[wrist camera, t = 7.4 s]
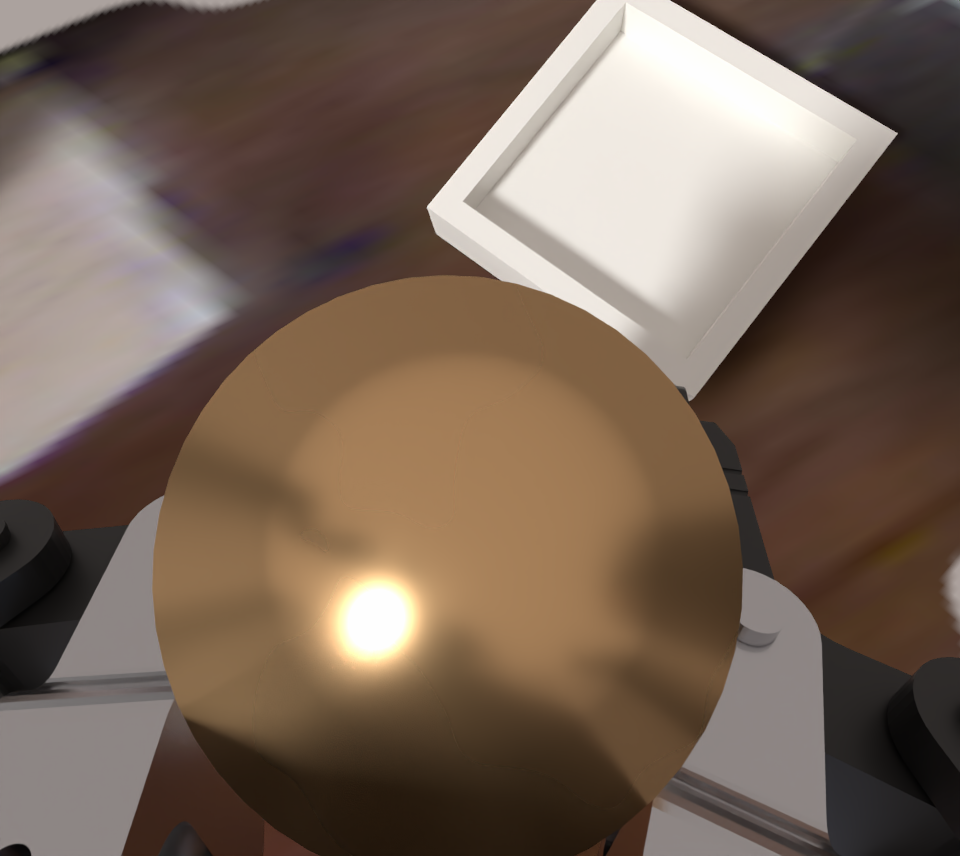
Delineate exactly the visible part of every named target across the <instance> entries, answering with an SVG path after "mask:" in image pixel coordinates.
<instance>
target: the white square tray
mask: <svg viewBox="0 0 960 856" xmlns="http://www.w3.org/2000/svg"><path fill="white" fill-rule="evenodd" d="M897 134H898V133H896V132H895V131H893V130H891V129H889V128H888V127H886V126H884V125H883V124H881V123H879V122H877V121H876V120H874V119H872V118H871V117H869V116H867V115H865V114H864V113H862V112H860V111H859V110H857V109H855V108H853V107H852V106H850V105H848V104H847V103H845V102H843V101H841V100H840V99H838V98H836V97H835V96H833V95H831V94H829V93H828V92H826V91H824V90H823V89H821V88H819V87H817V86H816V85H814V84H812V83H811V82H809V81H807V80H805V79H804V78H802V77H800V76H799V75H797V74H795V73H793V72H792V71H790V70H788V69H787V68H785V67H783V66H782V65H780V64H778V63H776V62H775V61H773V60H771V59H770V58H768V57H766V56H764V55H763V54H761V53H759V52H758V51H756V50H754V49H752V48H751V47H749V46H747V45H746V44H744V43H742V42H740V41H739V40H737V39H735V38H734V37H732V36H730V35H728V34H727V33H725V32H723V31H722V30H720V29H718V28H716V27H715V26H713V25H711V24H710V23H708V22H706V21H704V20H703V19H701V18H699V17H698V16H696V15H694V14H692V13H691V12H689V11H687V10H686V9H684V8H682V7H680V6H679V5H677V4H675V3H674V2H672V1H670V0H597V1H596V2H595V3H594V4H593V5H592V7H591V8H590V9H589V10H588V11H587V13H586V14H585V15H584V16H583V18H582V19H581V20H580V21H579V22H578V24H577V25H576V26H575V27H574V29H573V30H572V31H571V32H570V33H569V35H568V36H567V37H566V38H565V39H564V41H563V42H562V43H561V44H560V46H559V47H558V48H557V49H556V50H555V52H554V53H553V54H552V55H551V57H550V58H549V59H548V60H547V61H546V63H545V64H544V65H543V66H542V67H541V69H540V70H539V71H538V72H537V74H536V75H535V76H534V77H533V78H532V80H531V81H530V82H529V83H528V84H527V86H526V87H525V88H524V89H523V91H522V92H521V93H520V94H519V95H518V97H517V98H516V99H515V100H514V102H513V103H512V104H511V105H510V106H509V108H508V109H507V110H506V111H505V112H504V114H503V115H502V116H501V117H500V119H499V120H498V121H497V122H496V123H495V125H494V126H493V127H492V128H491V130H490V131H489V132H488V133H487V134H486V136H485V137H484V138H483V139H482V140H481V142H480V143H479V144H478V145H477V147H476V148H475V149H474V150H473V151H472V153H471V154H470V155H469V156H468V157H467V159H466V160H465V161H464V162H463V164H462V165H461V166H460V167H459V168H458V170H457V171H456V172H455V173H454V175H453V176H452V177H451V178H450V179H449V181H448V182H447V183H446V184H445V185H444V187H443V188H442V189H441V190H440V192H439V193H438V194H437V195H436V196H435V198H434V199H433V200H432V201H431V203H430V204H429V205H428V206H427V209H428V212H429V215H430V218H431V220H432V223H433V226H434V229H435V232H436V234H437V235H438V236H440V237H441V238H443V239H444V240H445V241H447V242H448V243H450V244H451V245H452V246H454V247H455V248H457V249H458V250H459V251H461V252H462V253H463V254H465V255H466V256H468V257H469V258H470V259H472V260H473V261H475V262H476V263H477V264H479V265H480V266H482V267H483V268H484V269H486V270H487V271H488V272H490V273H491V274H493V275H494V276H495V277H497V278H498V279H500V280H501V281H505V282H511V283H516V284H519V285H522V286H526V287H529V288H532V289H535V290H538V291H542V292H545V293H548V294H551V295H553V296H555V297H558V298H560V299H562V300H564V301H566V302H568V303H571V304H573V305H575V306H577V307H579V308H582V309H584V310H586V311H587V312H589V313H590V314H592V315H594V316H595V317H597V318H598V319H600V320H602V321H603V322H605V323H606V324H608V325H610V326H611V327H613V328H614V329H616V330H617V331H619V332H620V333H621V334H622V335H623V336H625V337H626V338H627V339H628V340H629V341H631V342H632V343H633V344H634V345H636V346H637V347H638V348H639V349H640V350H642V351H643V352H644V353H645V354H646V355H647V356H648V357H649V358H650V359H651V360H652V361H653V362H654V363H655V364H656V365H657V366H658V367H659V368H660V370H661V371H662V372H663V373H664V374H665V375H666V376H667V377H668V378H669V379H670V380H671V381H672V382H673V384H674V385H675V386H682V387H685V389H686V392H687V396H688V401H690V400H692V399H693V398H694V397H695V396H696V395H697V393H698V392H699V391H700V390H701V388H702V387H703V386H704V384H705V383H706V382H707V380H708V379H709V378H710V377H711V375H712V374H713V373H714V371H715V370H716V369H717V367H718V366H719V365H720V364H721V362H722V361H723V360H724V358H725V357H726V356H727V355H728V353H729V352H730V351H731V349H732V348H733V347H734V345H735V344H736V343H737V342H738V340H739V339H740V338H741V336H742V335H743V334H744V332H745V331H746V330H747V329H748V327H749V326H750V325H751V323H752V322H753V321H754V319H755V318H756V317H757V316H758V314H759V313H760V312H761V310H762V309H763V308H764V306H765V305H766V304H767V303H768V301H769V300H770V299H771V297H772V296H773V295H774V293H775V292H776V291H777V290H778V288H779V287H780V286H781V284H782V283H783V282H784V281H785V279H786V278H787V277H788V275H789V274H790V273H791V271H792V270H793V269H794V268H795V266H796V265H797V264H798V262H799V261H800V260H801V258H802V257H803V256H804V255H805V253H806V252H807V251H808V249H809V248H810V247H811V245H812V244H813V243H814V242H815V240H816V239H817V238H818V236H819V235H820V234H821V232H822V231H823V230H824V229H825V227H826V226H827V225H828V223H829V222H830V221H831V220H832V218H833V217H834V216H835V214H836V213H837V212H838V210H839V209H840V208H841V207H842V205H843V204H844V203H845V201H846V200H847V199H848V197H849V196H850V195H851V194H852V192H853V191H854V190H855V188H856V187H857V186H858V184H859V183H860V182H861V181H862V179H863V178H864V177H865V175H866V174H867V173H868V171H869V170H870V169H871V168H872V166H873V165H874V164H875V162H876V161H877V160H878V158H879V157H880V156H881V155H882V153H883V152H884V151H885V149H886V148H887V147H888V146H889V144H890V143H891V142H892V140H893V139H894V138H895V136H896V135H897Z"/></svg>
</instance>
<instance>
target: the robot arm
mask: <svg viewBox="0 0 960 856" xmlns="http://www.w3.org/2000/svg"><path fill="white" fill-rule="evenodd" d="M676 388H677V389H678V391H679V392H680V393H681V395H682V396H683V397H684V399H685V400H686V402H687V403H688V404H689V401H688V396H687V392H686V389H685V387H682V386H676ZM700 423H701V425H702V427H703V429H704V431H705V433H706V434H707V436H708V438H709V440H710V442H711V444H712V445H713V447H714V449H715V452H716V454H717V457H718V460H719V462H720V465H721V467H722V470H723V473H724V475H725V478H726V480H727V483H728V486H729V489H730V493H731V497H732V501H733V506H734V510H735V514H736V518H737V522H738V526H739V535H740V545H741V554H742V564H743V585H742V612H741V618H740V624H739V630H738V637H737V643H736V649H735V653H734V657H733V660H732V663H731V667H730V670H729V673H728V676H727V680H726V683H725V686H724V690H723V692H722V695H721V697H720V699H719V701H718V703H717V706H716V708H715V710H714V712H713V714H712V716H711V719H710V721H709V723H708V725H707V727H706V730H705V731H704V733H703V734H702V736H701V738H700V739H699V741H698V742H697V744H696V745H695V747H694V749H693V750H692V752H691V753H690V755H689V756H688V758H687V759H686V761H685V763H684V764H683V766H682V767H681V768H680V769H679V771H678V772H677V773H676V774H675V775H674V776H673V778H672V779H671V780H670V781H669V782H668V783H667V785H666V786H665V787H664V788H663V789H662V790H661V792H660V793H659V794H658V795H657V796H656V797H655V799H653V800H652V801H651V802H650V803H649V804H648V805H647V806H645V807H644V808H643V809H642V810H641V811H640V812H639V813H637V814H636V815H635V816H634V817H633V818H632V819H631V820H630V821H628V822H627V823H626V824H625V825H624V826H623V827H621V828H620V829H618V830H617V831H615V832H614V833H612V834H610V835H609V836H607V837H606V838H604V839H603V840H601V843H600V847H599V851H598V855H597V856H960V658H953V657H946V658H937V659H934V660H930V661H929V662H927V663H925V664H923V665H922V666H921V667H920V668H919V669H918V670H917V671H916V673H915V674H914V675H913V676H911V675H908V674H906V673H904V672H902V671H899V670H897V669H895V668H892V667H890V666H888V665H885V664H883V663H881V662H878V661H876V660H874V659H871V658H869V657H867V656H864V655H862V654H860V653H857V652H855V651H853V650H850V649H848V648H846V647H844V646H842V645H840V644H838V643H836V642H834V641H832V640H830V639H829V638H827V637H825V636H824V635H822V634H820V632H819V629H818V626H817V624H816V622H815V620H814V618H813V616H812V615H811V613H810V612H809V610H808V609H807V608H806V606H805V605H804V604H803V603H802V602H801V601H800V600H799V599H798V598H797V597H796V596H795V595H794V594H793V593H792V592H791V591H789V590H788V589H787V588H786V587H784V586H783V585H781V584H780V583H778V582H777V581H775V580H774V577H773V574H772V571H771V567H770V564H769V560H768V557H767V554H766V550H765V547H764V543H763V540H762V537H761V533H760V530H759V526H758V523H757V520H756V516H755V513H754V509H753V506H752V503H751V499H750V497H748V496H747V494H748V489H747V485H746V482H745V479H744V475H741V473H742V468H741V465H740V462H739V458H738V455H737V451H736V448H735V445H734V444H733V443H732V442H731V441H730V440H729V438H728V437H727V436H726V435H725V434H724V433H723V432H722V430H721V429H720V428H719V427H718V426H717V425H716V424H715V423H713V422H706V421H700ZM163 499H164V496H162V497H160V498H158V499H156V500H155V501H153V502H152V503H150V504H149V505H147V506H146V507H145V508H144V509H143V510H141V511H140V512H139V513H138V514H137V515H136V517H135V518H134V519H133V520H132V521H131V523H130V525H125V526H115V527H105V528H94V529H84V530H73V531H63V532H62V530H61V529H60V527H59V525H58V523H57V522H56V520H55V518H54V517H53V515H52V513H51V512H50V510H49V509H48V508H46V507H45V506H44V505H42V504H39V503H37V502H33V501H29V500H5V501H0V856H263V848H264V819H263V818H262V817H261V816H260V815H259V814H257V813H256V812H255V811H254V810H253V809H252V808H250V807H249V806H248V805H247V804H246V803H245V802H243V800H242V799H241V798H240V797H239V796H238V795H237V794H236V793H235V791H234V790H233V789H232V788H231V787H230V786H229V785H228V784H227V782H226V781H225V780H224V779H223V778H222V777H221V776H220V774H219V773H218V772H217V771H216V769H215V768H214V767H213V765H212V764H211V762H210V761H209V759H208V758H207V756H206V755H205V753H204V752H203V750H202V749H201V747H200V746H199V744H198V743H197V741H196V740H195V738H194V736H193V734H192V732H191V730H190V728H189V726H188V724H187V722H186V720H185V718H184V716H183V714H182V712H181V710H180V708H179V706H178V704H177V702H176V699H175V696H174V694H173V691H172V688H171V685H170V682H169V679H168V676H167V674H166V671H165V668H164V664H163V660H162V655H161V650H160V646H159V641H158V637H157V632H156V626H155V615H154V604H153V593H152V581H153V551H154V545H155V538H156V532H157V525H158V519H159V513H160V509H161V506H162V502H163Z"/></svg>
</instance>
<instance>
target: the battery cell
mask: <svg viewBox="0 0 960 856" xmlns="http://www.w3.org/2000/svg"><path fill="white" fill-rule="evenodd" d="M742 585H743V564H742V554H741V545H740V535H739V526H738V522H737V518H736V514H735V510H734V506H733V501H732V497H731V493H730V489H729V486H728V483H727V480H726V478H725V475H724V473H723V470H722V467H721V465H720V462H719V460H718V457H717V454H716V452H715V449H714V447H713V445H712V444H711V442H710V440H709V438H708V436H707V434H706V433H705V431H704V429H703V427H702V425H701V423H700V421H699V420H698V418H697V416H696V414H695V413H694V411H693V410H692V409H691V407H690V406H689V404H688V403H687V402H686V400H685V399H684V397H683V396H682V395H681V393H680V392H679V391H678V389H677V388H676V386H675V385H674V384H673V382H672V381H671V380H670V379H669V378H668V377H667V376H666V375H665V374H664V373H663V372H662V371H661V370H660V368H659V367H658V366H657V365H656V364H655V363H654V362H653V361H652V360H651V359H650V358H649V357H648V356H647V355H646V354H645V353H644V352H643V351H642V350H640V349H639V348H638V347H637V346H636V345H634V344H633V343H632V342H631V341H629V340H628V339H627V338H626V337H625V336H623V335H622V334H621V333H620V332H619V331H617V330H616V329H614V328H613V327H611V326H610V325H608V324H606V323H605V322H603V321H602V320H600V319H598V318H597V317H595V316H594V315H592V314H590V313H589V312H587V311H586V310H584V309H582V308H579V307H577V306H575V305H573V304H571V303H568V302H566V301H564V300H562V299H560V298H558V297H555V296H553V295H551V294H548V293H545V292H542V291H538V290H535V289H532V288H529V287H526V286H522V285H519V284H516V283H511V282H505V281H499V280H494V279H488V278H483V277H469V276H449V275H441V276H428V277H415V278H406V279H401V280H396V281H391V282H386V283H381V284H376V285H372V286H369V287H366V288H363V289H360V290H357V291H354V292H351V293H348V294H345V295H342V296H340V297H337V298H335V299H333V300H331V301H329V302H327V303H325V304H323V305H321V306H319V307H317V308H315V309H312V310H310V311H308V312H306V313H305V314H303V315H302V316H300V317H299V318H297V319H296V320H294V321H292V322H291V323H289V324H288V325H286V326H285V327H283V328H282V329H280V330H278V331H277V332H276V333H274V334H273V335H272V336H271V337H270V338H268V339H267V340H266V341H265V342H264V343H262V344H261V345H260V346H259V347H258V348H256V349H255V350H254V351H253V352H252V353H250V354H249V355H248V356H247V357H246V358H245V359H244V360H243V362H242V363H241V364H240V365H239V366H238V367H237V368H236V369H235V370H234V371H233V372H232V373H231V374H230V375H229V376H228V377H227V378H226V380H225V381H224V382H223V383H222V384H221V386H220V387H219V389H218V390H217V391H216V393H215V394H214V395H213V397H212V398H211V399H210V401H209V402H208V403H207V405H206V406H205V408H204V409H203V410H202V412H201V414H200V415H199V417H198V419H197V421H196V422H195V424H194V426H193V428H192V430H191V431H190V433H189V435H188V437H187V438H186V440H185V442H184V444H183V446H182V449H181V451H180V454H179V456H178V458H177V461H176V463H175V466H174V468H173V470H172V473H171V475H170V478H169V481H168V485H167V488H166V492H165V495H164V499H163V502H162V506H161V509H160V513H159V519H158V525H157V532H156V538H155V545H154V551H153V581H152V593H153V604H154V615H155V626H156V632H157V637H158V641H159V646H160V650H161V655H162V660H163V664H164V668H165V671H166V674H167V676H168V679H169V682H170V685H171V688H172V691H173V694H174V696H175V699H176V702H177V704H178V706H179V708H180V710H181V712H182V714H183V716H184V718H185V720H186V722H187V724H188V726H189V728H190V730H191V732H192V734H193V736H194V738H195V740H196V741H197V743H198V744H199V746H200V747H201V749H202V750H203V752H204V753H205V755H206V756H207V758H208V759H209V761H210V762H211V764H212V765H213V767H214V768H215V769H216V771H217V772H218V773H219V774H220V776H221V777H222V778H223V779H224V780H225V781H226V782H227V784H228V785H229V786H230V787H231V788H232V789H233V790H234V791H235V793H236V794H237V795H238V796H239V797H240V798H241V799H242V800H243V802H245V803H246V804H247V805H248V806H249V807H250V808H252V809H253V810H254V811H255V812H256V813H257V814H259V815H260V816H261V817H262V818H263V819H264V820H266V821H267V822H268V823H269V824H270V825H271V826H273V827H274V828H275V829H277V830H278V831H280V832H281V833H283V834H284V835H286V836H287V837H289V838H291V839H292V840H294V841H295V842H297V843H298V844H300V845H301V846H303V847H304V848H306V849H308V850H309V851H312V852H314V853H316V854H318V855H320V856H575V855H577V854H579V853H581V852H583V851H585V850H587V849H589V848H591V847H592V846H594V845H595V844H597V843H598V842H600V841H601V840H603V839H604V838H606V837H607V836H609V835H610V834H612V833H614V832H615V831H617V830H618V829H620V828H621V827H623V826H624V825H625V824H626V823H627V822H628V821H630V820H631V819H632V818H633V817H634V816H635V815H636V814H637V813H639V812H640V811H641V810H642V809H643V808H644V807H645V806H647V805H648V804H649V803H650V802H651V801H652V800H653V799H655V797H656V796H657V795H658V794H659V793H660V792H661V790H662V789H663V788H664V787H665V786H666V785H667V783H668V782H669V781H670V780H671V779H672V778H673V776H674V775H675V774H676V773H677V772H678V771H679V769H680V768H681V767H682V766H683V764H684V763H685V761H686V759H687V758H688V756H689V755H690V753H691V752H692V750H693V749H694V747H695V745H696V744H697V742H698V741H699V739H700V738H701V736H702V734H703V733H704V731H705V730H706V727H707V725H708V723H709V721H710V719H711V716H712V714H713V712H714V710H715V708H716V706H717V703H718V701H719V699H720V697H721V695H722V692H723V690H724V686H725V683H726V680H727V676H728V673H729V670H730V667H731V663H732V660H733V657H734V653H735V649H736V643H737V637H738V630H739V624H740V618H741V612H742Z"/></svg>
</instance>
